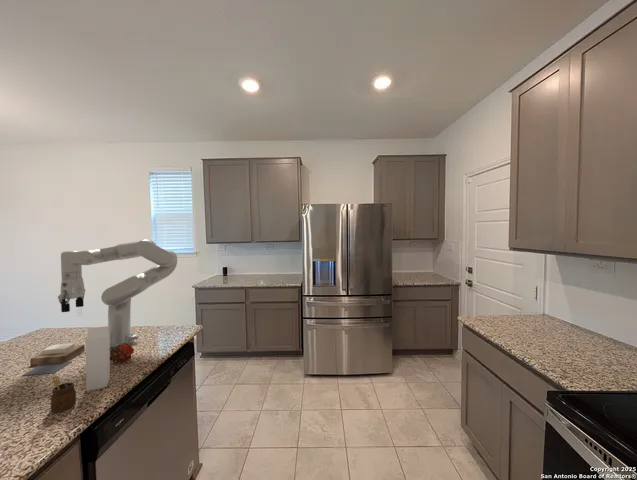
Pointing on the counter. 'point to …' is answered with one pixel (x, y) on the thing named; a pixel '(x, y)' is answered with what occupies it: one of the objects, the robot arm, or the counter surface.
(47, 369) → the mat
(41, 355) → the brown square plate
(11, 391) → the counter surface
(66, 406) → the utensil holder
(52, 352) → the white rectangular block
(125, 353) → the dragon fruit
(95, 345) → the milk
